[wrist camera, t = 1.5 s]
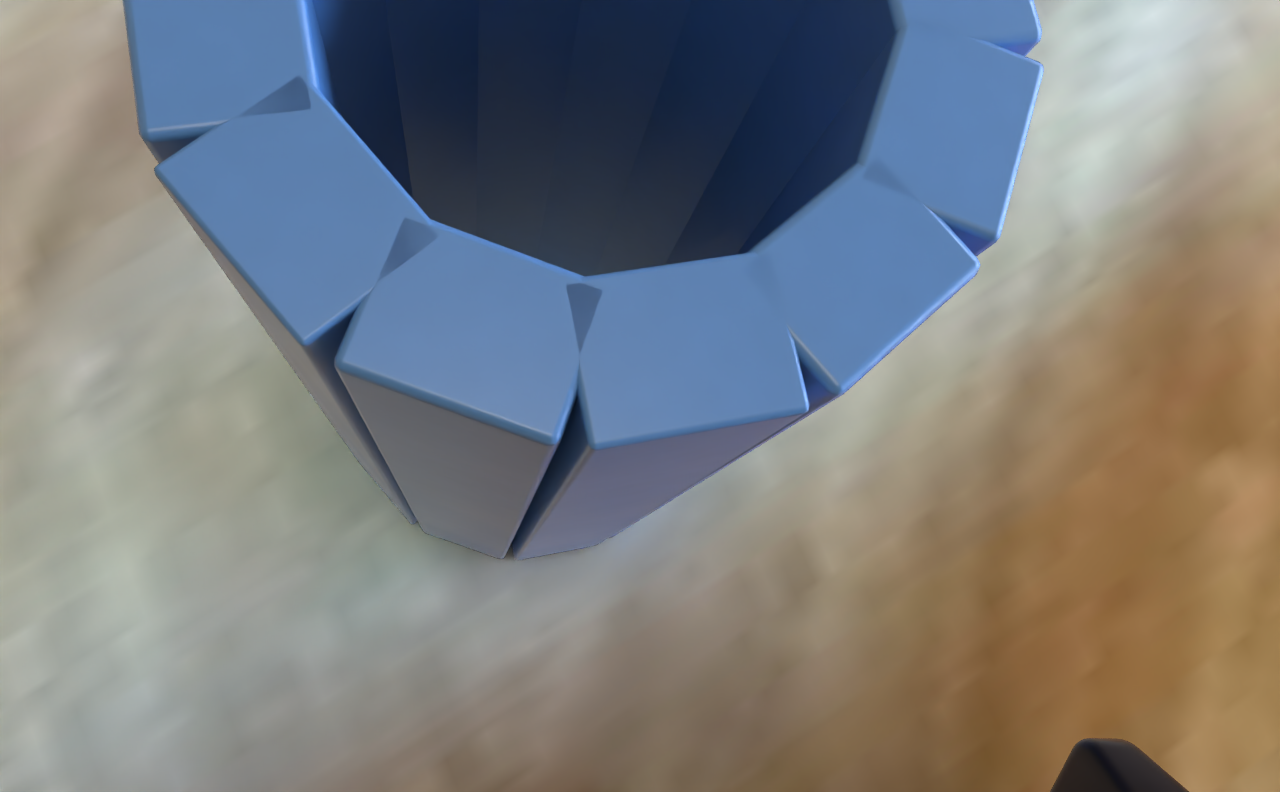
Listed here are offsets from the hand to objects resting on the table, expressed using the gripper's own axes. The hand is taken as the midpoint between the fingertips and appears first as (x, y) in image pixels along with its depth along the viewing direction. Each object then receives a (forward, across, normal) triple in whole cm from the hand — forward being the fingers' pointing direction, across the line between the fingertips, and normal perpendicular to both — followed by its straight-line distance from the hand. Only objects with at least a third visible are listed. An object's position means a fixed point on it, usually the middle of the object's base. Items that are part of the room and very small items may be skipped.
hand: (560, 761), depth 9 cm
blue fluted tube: (+13, 0, +4) cm, 14 cm away
